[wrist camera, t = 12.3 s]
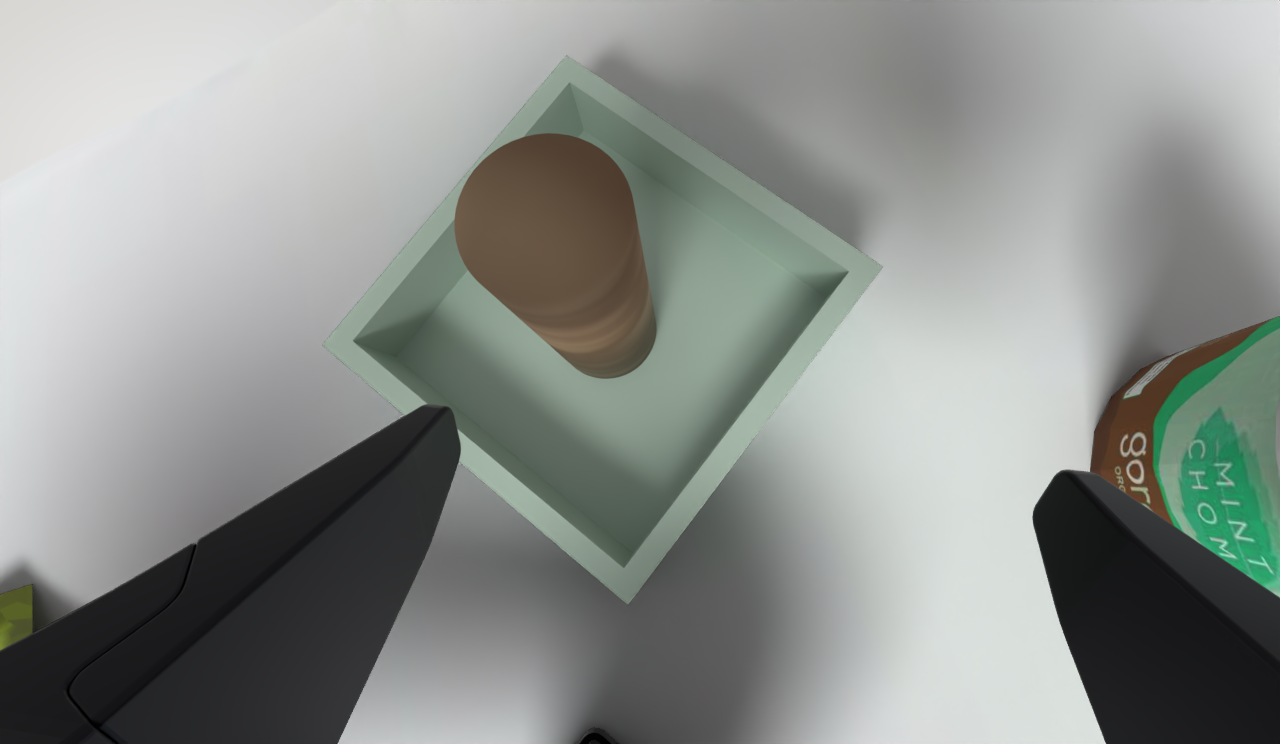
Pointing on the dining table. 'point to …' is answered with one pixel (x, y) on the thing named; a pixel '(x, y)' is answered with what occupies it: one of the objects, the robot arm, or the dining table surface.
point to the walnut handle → (561, 249)
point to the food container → (1205, 446)
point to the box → (649, 395)
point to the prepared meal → (15, 615)
